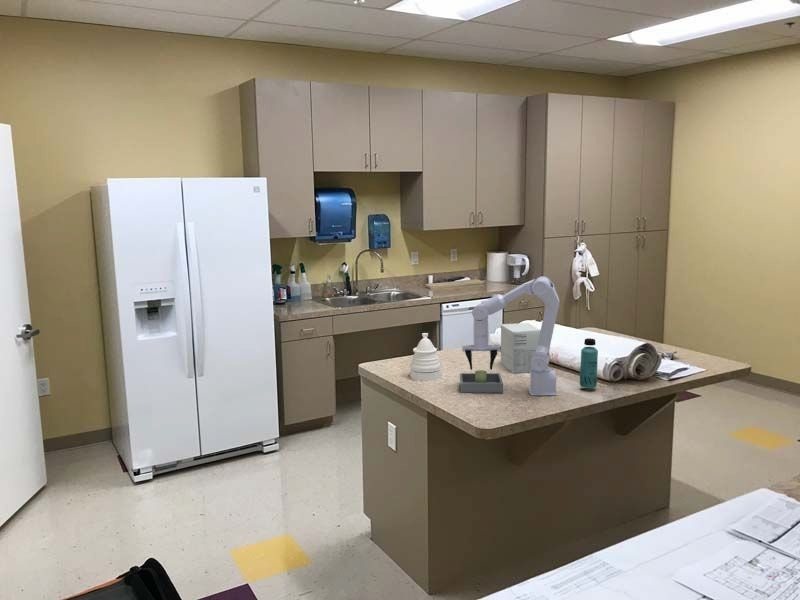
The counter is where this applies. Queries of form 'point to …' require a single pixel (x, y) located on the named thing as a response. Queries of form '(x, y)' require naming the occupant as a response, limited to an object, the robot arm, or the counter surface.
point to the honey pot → (425, 361)
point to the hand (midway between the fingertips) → (481, 369)
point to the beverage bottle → (588, 365)
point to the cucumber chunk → (480, 376)
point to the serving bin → (481, 384)
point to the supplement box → (518, 346)
